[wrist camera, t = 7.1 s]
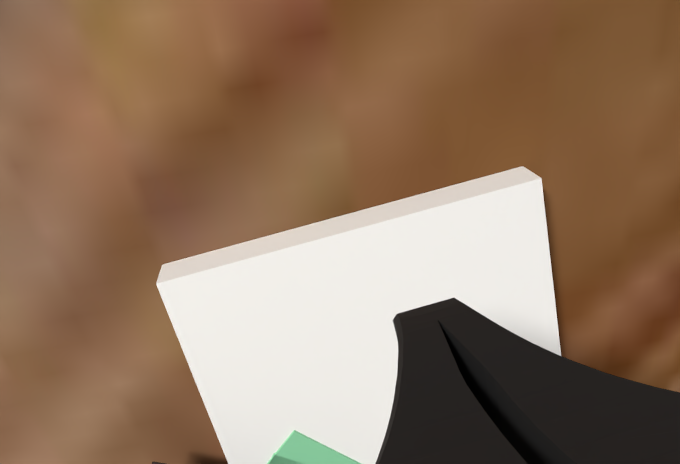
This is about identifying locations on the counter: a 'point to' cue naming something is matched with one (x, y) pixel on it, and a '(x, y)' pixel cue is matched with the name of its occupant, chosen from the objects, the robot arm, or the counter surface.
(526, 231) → the dial board
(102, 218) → the counter surface
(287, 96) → the counter surface
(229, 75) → the counter surface
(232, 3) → the counter surface
